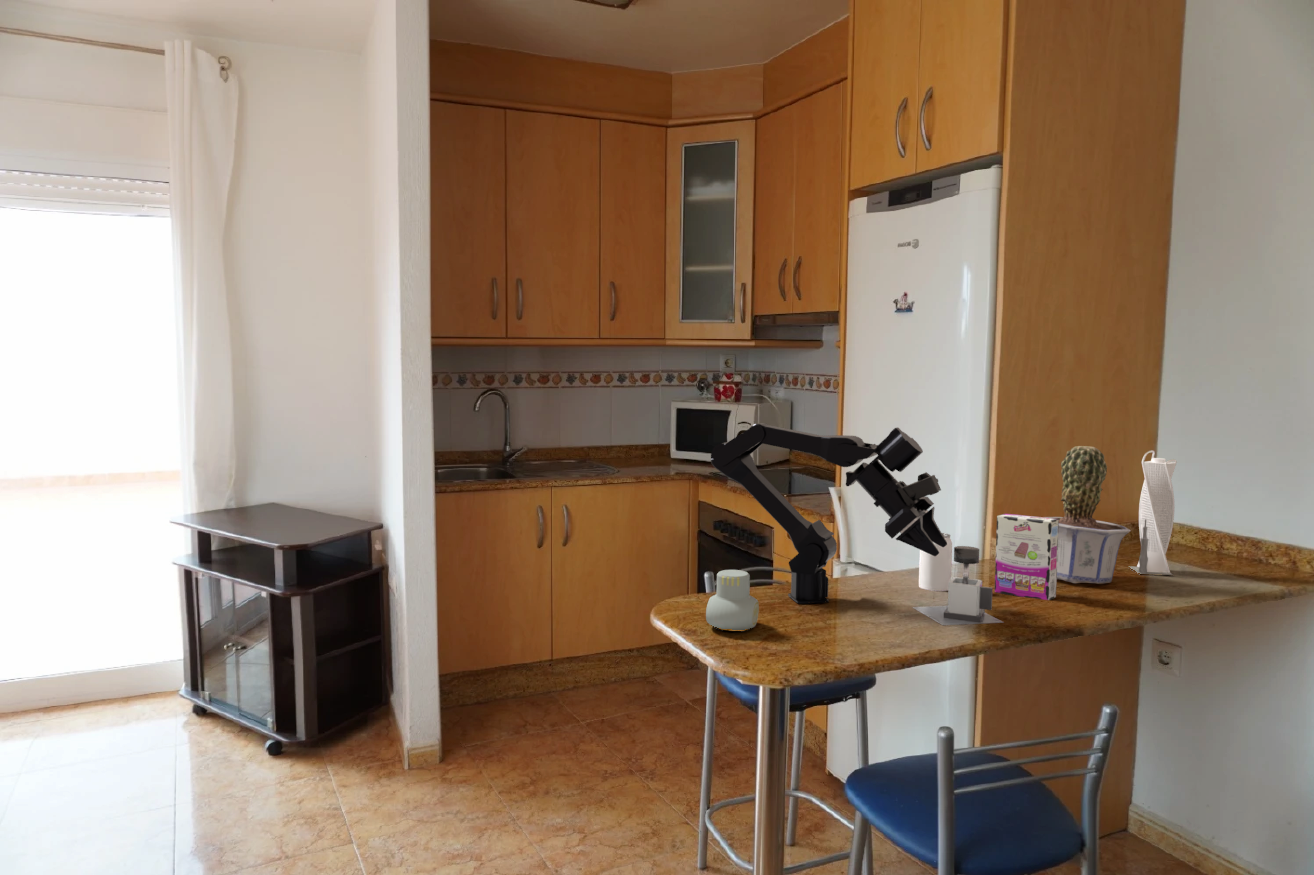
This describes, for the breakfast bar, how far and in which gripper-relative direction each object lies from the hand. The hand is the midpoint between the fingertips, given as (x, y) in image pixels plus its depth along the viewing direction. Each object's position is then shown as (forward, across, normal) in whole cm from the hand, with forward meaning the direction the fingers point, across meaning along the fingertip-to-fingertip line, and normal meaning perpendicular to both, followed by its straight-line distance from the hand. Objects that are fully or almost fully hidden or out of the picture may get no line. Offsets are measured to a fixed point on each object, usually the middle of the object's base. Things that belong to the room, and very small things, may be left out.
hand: (941, 550), depth 165 cm
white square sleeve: (+12, 0, +5) cm, 13 cm away
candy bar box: (+18, +25, 0) cm, 31 cm away
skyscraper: (+36, +62, -17) cm, 74 cm away
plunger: (+8, 0, +2) cm, 8 cm away
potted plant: (+25, +45, -7) cm, 52 cm away
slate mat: (+11, 0, +7) cm, 13 cm away
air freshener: (-14, -25, +32) cm, 42 cm away
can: (+6, +20, +12) cm, 24 cm away
